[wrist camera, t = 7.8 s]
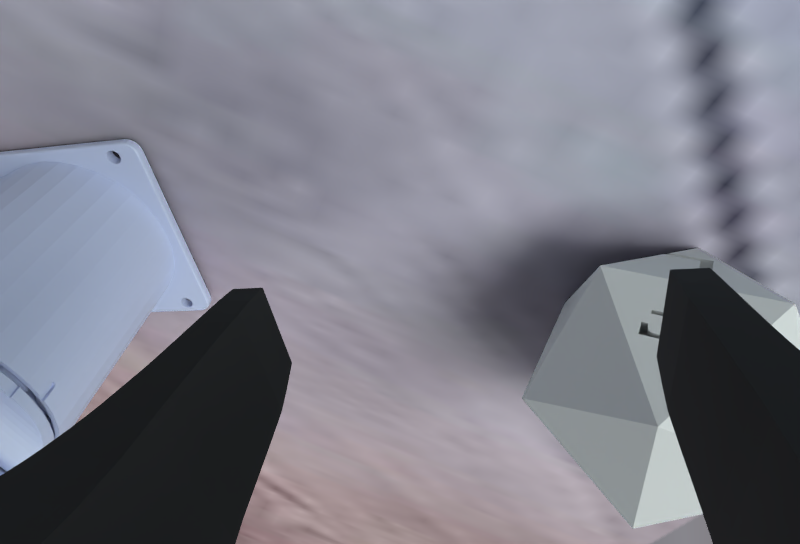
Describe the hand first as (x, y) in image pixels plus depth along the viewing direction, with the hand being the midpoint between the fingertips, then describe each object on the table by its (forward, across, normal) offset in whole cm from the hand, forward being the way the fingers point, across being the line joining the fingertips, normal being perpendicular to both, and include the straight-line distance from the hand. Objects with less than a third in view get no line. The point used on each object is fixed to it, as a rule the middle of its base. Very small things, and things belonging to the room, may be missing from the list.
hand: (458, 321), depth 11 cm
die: (+11, -6, +9) cm, 15 cm away
